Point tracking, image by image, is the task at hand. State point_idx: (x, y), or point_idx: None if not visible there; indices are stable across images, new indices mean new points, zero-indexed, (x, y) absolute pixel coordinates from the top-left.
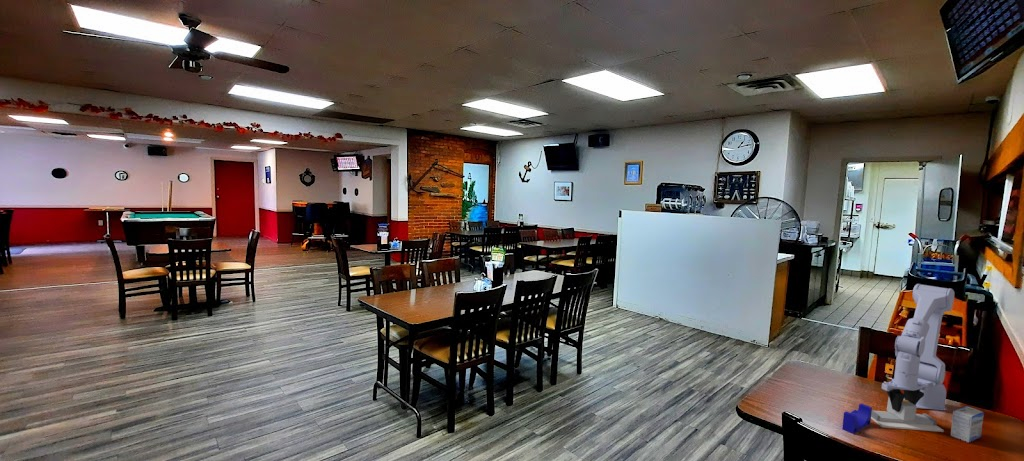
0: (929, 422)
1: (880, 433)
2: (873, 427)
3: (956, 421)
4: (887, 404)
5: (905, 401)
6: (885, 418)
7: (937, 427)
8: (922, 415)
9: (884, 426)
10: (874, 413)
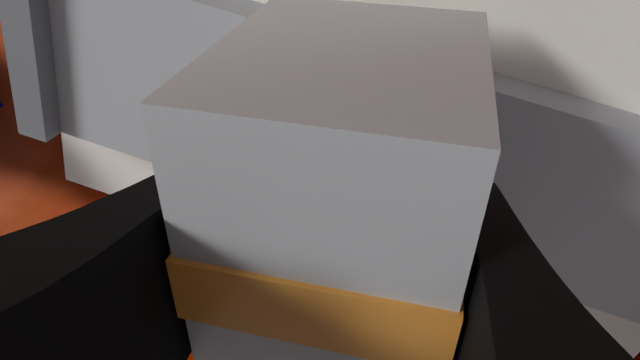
0: (604, 305)
1: (13, 229)
2: (3, 156)
3: None
4: (231, 31)
5: (355, 344)
6: (119, 149)
7: (629, 328)
8: None
9: (90, 181)
10: (11, 79)
